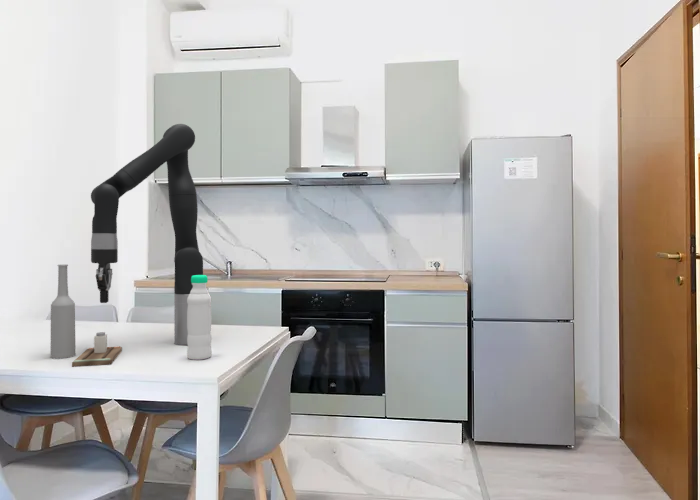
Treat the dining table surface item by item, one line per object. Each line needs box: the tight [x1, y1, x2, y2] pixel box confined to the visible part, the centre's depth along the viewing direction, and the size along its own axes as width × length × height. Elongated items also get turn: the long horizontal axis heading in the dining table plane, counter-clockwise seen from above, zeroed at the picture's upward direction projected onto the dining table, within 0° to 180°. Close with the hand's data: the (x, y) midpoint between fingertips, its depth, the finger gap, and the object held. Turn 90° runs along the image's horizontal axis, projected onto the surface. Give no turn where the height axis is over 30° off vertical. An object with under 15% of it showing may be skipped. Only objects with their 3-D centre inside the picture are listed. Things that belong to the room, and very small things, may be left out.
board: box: [71, 345, 123, 368], centre depth 145 cm, size 10×18×2 cm, turn 16°
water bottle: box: [186, 274, 212, 361], centre depth 147 cm, size 7×7×25 cm
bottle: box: [50, 264, 76, 360], centre depth 148 cm, size 7×7×28 cm
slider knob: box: [93, 331, 108, 353], centre depth 148 cm, size 3×3×6 cm
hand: (104, 302), depth 153 cm, fingers closed
